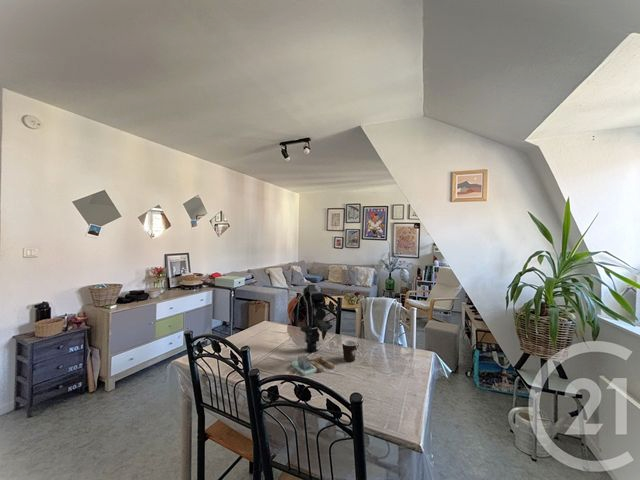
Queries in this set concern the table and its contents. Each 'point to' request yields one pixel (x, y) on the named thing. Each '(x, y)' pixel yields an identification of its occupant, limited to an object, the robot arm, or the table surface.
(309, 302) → the robot arm
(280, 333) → the table surface
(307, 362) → the grey rectangular block
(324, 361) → the socket
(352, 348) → the coffee mug
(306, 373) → the pale teal tray
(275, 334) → the table surface
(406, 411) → the table surface
